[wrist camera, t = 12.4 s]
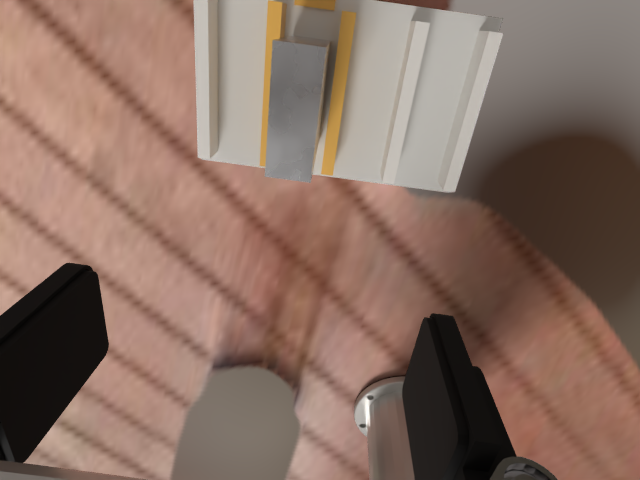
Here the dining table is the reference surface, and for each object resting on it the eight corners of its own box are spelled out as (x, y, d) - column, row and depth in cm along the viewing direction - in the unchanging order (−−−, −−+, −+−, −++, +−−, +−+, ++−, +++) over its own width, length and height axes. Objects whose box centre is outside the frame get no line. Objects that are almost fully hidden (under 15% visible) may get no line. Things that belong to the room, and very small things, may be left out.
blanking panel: (318, 142, 35) (310, 182, 26) (284, 137, 35) (264, 176, 26) (331, 40, 31) (326, 47, 22) (292, 35, 31) (272, 39, 22)
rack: (446, 186, 38) (457, 203, 34) (206, 154, 37) (192, 168, 34) (496, 18, 31) (515, 18, 27) (203, -23, 31) (185, -29, 27)
